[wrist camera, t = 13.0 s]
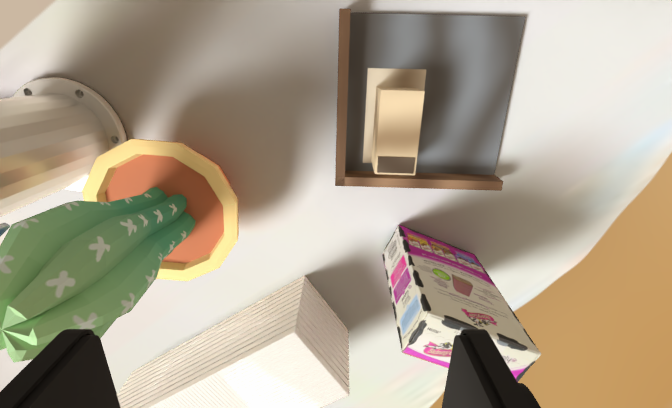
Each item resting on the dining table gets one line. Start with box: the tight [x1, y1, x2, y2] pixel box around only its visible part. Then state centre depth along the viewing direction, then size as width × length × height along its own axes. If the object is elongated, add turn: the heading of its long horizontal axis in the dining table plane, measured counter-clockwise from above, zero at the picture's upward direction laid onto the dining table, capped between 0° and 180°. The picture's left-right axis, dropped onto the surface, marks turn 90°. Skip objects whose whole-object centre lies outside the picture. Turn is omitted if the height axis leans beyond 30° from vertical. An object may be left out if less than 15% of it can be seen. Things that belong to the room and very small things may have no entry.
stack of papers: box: [117, 276, 349, 408], centre depth 47 cm, size 32×11×11 cm, turn 123°
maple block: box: [371, 87, 425, 175], centre depth 36 cm, size 8×4×5 cm, turn 178°
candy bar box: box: [382, 225, 541, 382], centre depth 37 cm, size 11×5×16 cm, turn 67°
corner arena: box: [335, 9, 525, 190], centre depth 36 cm, size 18×17×3 cm
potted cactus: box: [0, 139, 239, 362], centre depth 30 cm, size 15×15×25 cm
